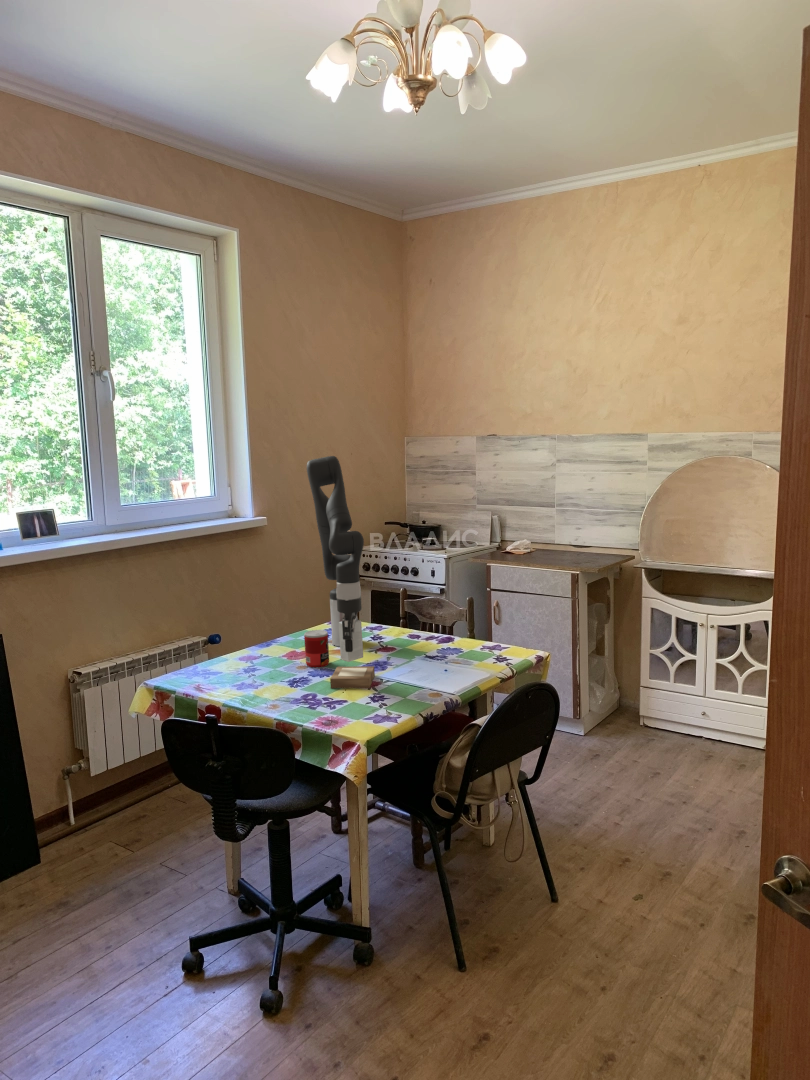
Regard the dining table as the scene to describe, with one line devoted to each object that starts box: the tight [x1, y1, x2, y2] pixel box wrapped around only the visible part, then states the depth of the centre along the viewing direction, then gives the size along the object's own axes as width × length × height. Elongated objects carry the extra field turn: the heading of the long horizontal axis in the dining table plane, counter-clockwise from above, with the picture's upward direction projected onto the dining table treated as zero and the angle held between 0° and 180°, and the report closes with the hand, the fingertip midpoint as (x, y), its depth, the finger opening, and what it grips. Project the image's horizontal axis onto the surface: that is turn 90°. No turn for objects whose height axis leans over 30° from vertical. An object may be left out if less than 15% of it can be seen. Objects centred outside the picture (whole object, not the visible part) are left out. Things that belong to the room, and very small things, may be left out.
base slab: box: [329, 665, 376, 689], centre depth 232 cm, size 12×12×3 cm
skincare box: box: [339, 619, 364, 663], centre depth 230 cm, size 6×4×12 cm
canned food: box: [303, 629, 330, 669], centre depth 250 cm, size 8×8×11 cm
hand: (351, 647), depth 231 cm, fingers closed on skincare box, 7 cm apart
